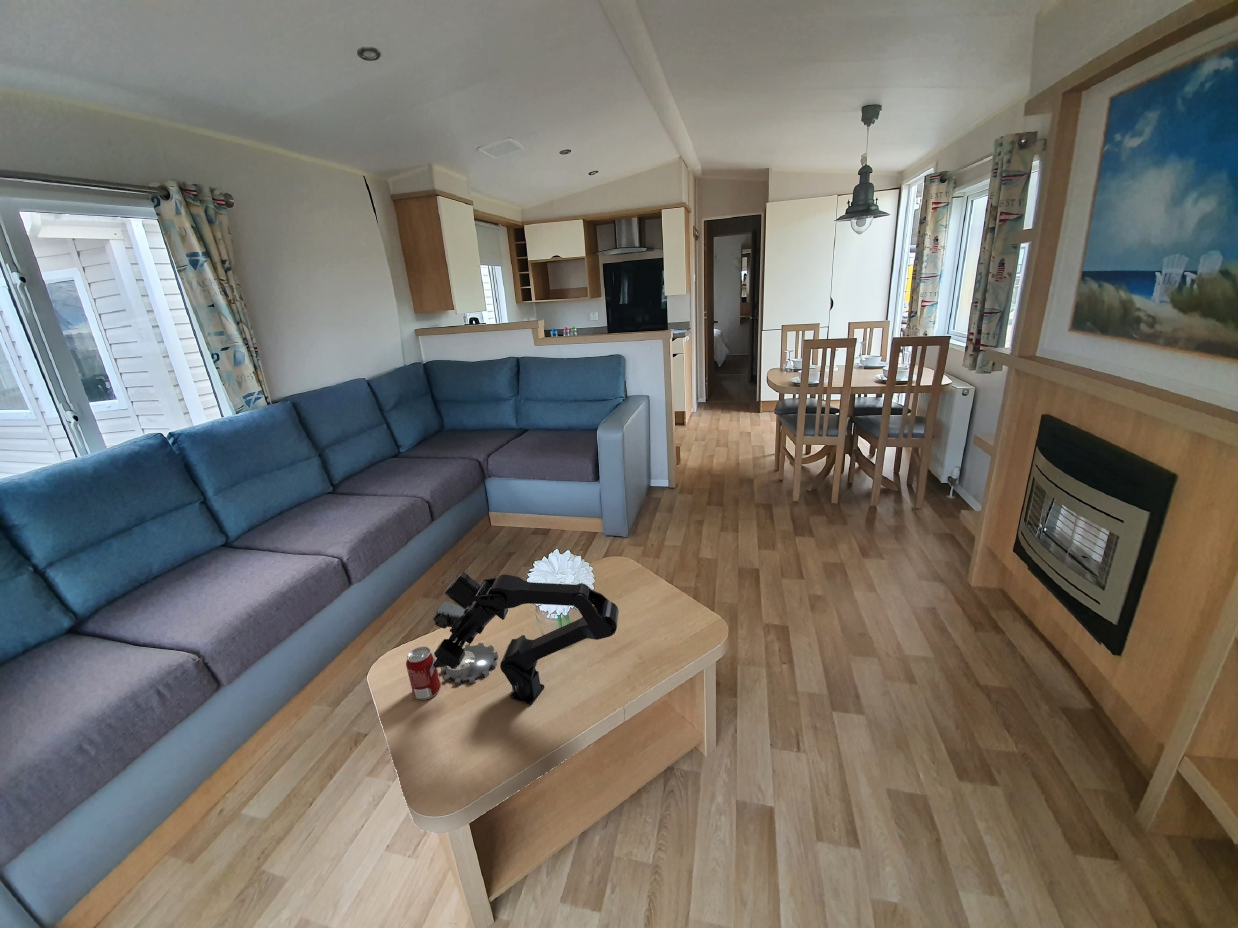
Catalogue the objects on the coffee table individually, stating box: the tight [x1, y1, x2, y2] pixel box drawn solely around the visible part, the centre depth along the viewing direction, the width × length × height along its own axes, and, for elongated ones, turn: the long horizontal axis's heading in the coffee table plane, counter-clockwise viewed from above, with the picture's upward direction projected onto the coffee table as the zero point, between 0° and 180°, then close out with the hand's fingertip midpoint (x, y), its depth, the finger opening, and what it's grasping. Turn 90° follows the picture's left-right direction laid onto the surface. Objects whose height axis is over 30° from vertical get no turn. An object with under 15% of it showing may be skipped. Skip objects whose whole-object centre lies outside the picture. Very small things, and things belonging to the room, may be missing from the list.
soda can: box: [405, 646, 442, 701], centre depth 126 cm, size 7×7×12 cm
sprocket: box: [440, 642, 499, 686], centre depth 136 cm, size 15×15×1 cm
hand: (442, 653), depth 123 cm, fingers open, 9 cm apart
